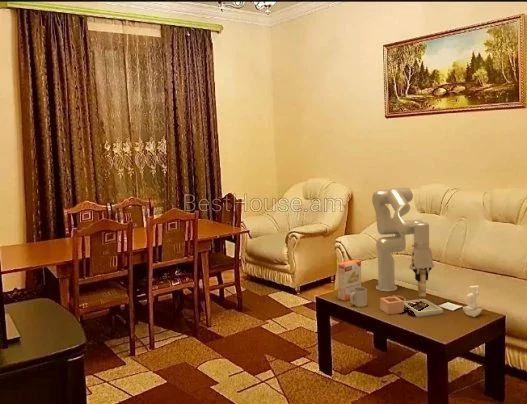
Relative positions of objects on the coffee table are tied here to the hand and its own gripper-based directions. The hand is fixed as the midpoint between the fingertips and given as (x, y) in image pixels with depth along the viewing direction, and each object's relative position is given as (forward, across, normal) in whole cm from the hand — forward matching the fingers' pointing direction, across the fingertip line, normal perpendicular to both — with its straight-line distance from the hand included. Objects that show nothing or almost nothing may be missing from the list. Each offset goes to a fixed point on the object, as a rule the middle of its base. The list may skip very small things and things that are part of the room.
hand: (421, 279), depth 268 cm
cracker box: (+16, -27, +32) cm, 45 cm away
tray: (+16, 0, 0) cm, 16 cm away
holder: (+16, -15, +4) cm, 23 cm away
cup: (+16, -28, +18) cm, 37 cm away
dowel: (+8, 0, 0) cm, 8 cm away
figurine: (+17, +20, -15) cm, 30 cm away
